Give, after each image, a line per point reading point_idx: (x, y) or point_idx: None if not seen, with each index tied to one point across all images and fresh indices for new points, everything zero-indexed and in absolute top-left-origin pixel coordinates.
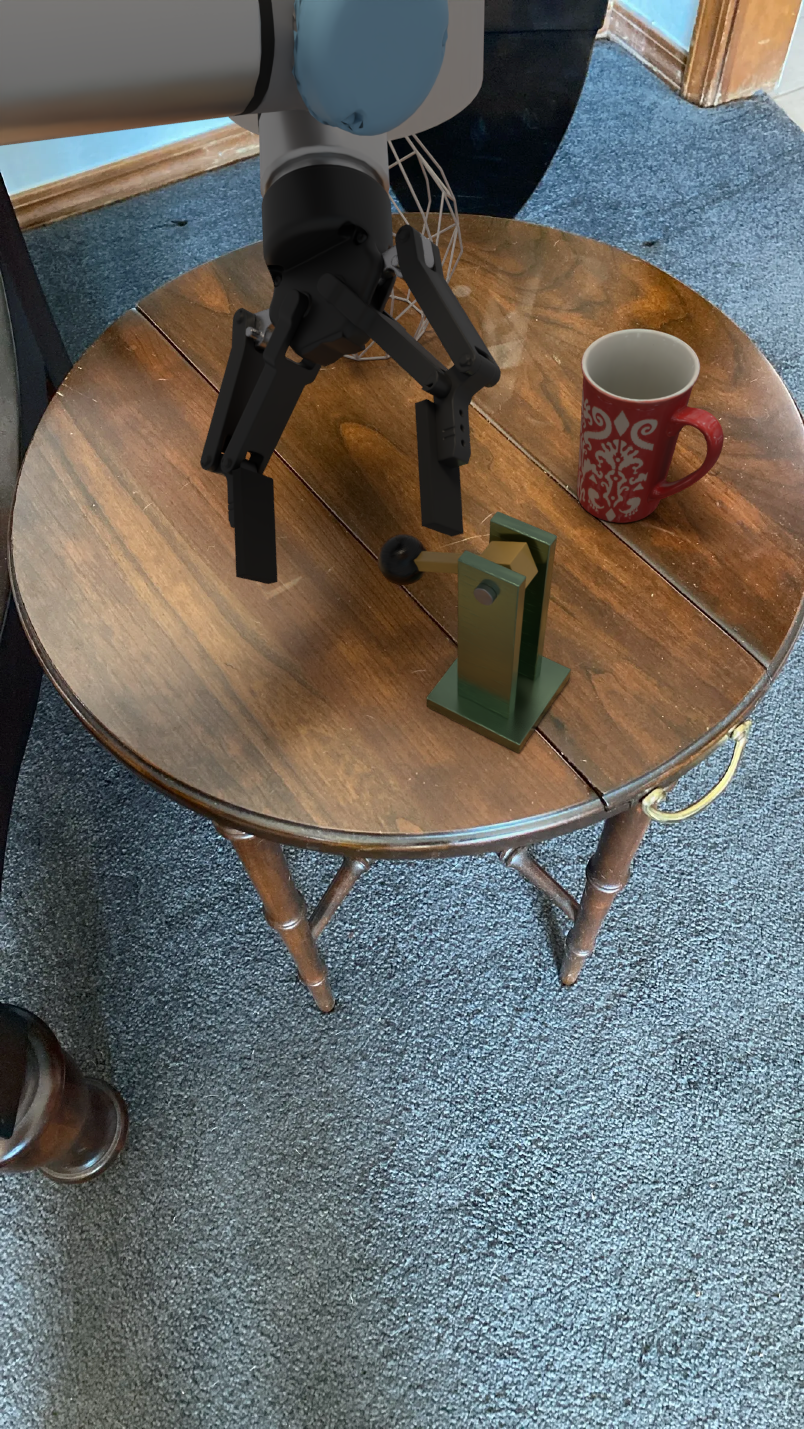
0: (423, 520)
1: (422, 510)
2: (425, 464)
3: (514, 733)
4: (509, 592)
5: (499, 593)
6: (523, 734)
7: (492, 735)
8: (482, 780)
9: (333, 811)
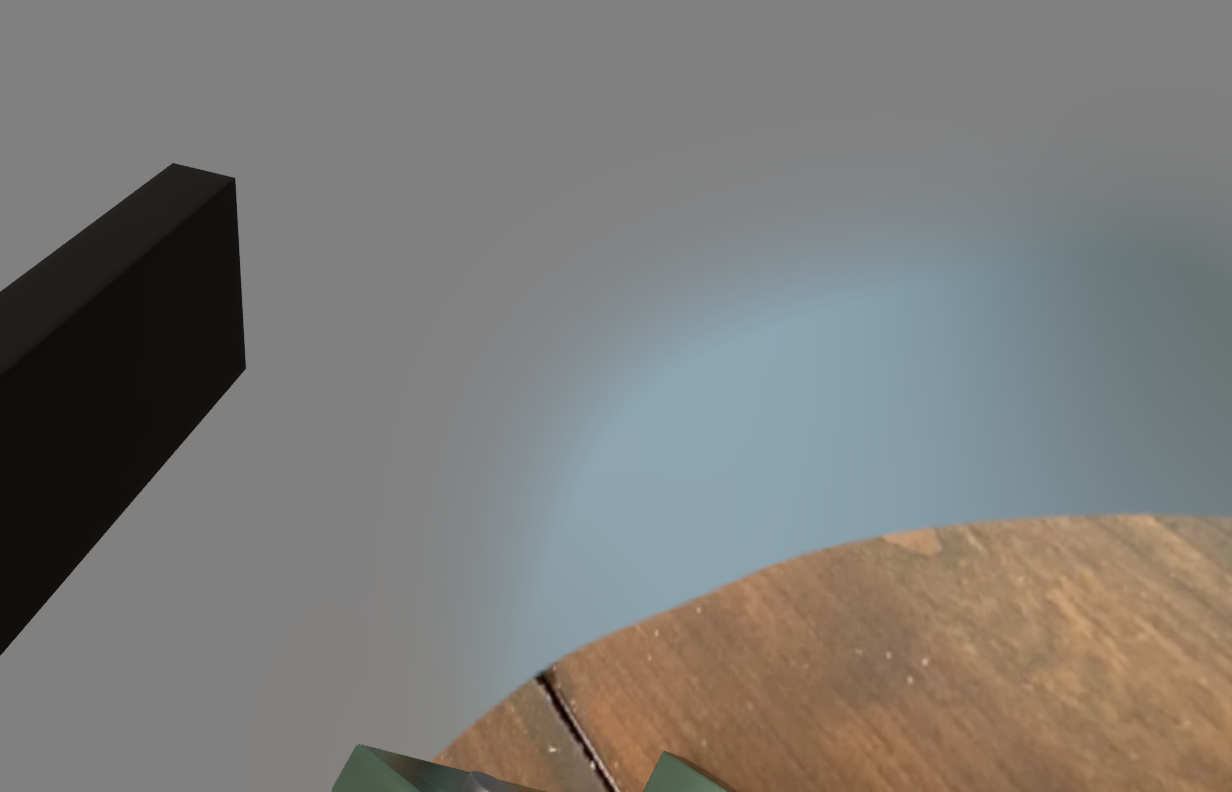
0: (214, 187)
1: (190, 201)
2: (27, 306)
3: (673, 784)
4: (407, 766)
5: (446, 786)
6: (653, 782)
7: (729, 789)
8: (756, 676)
9: (1104, 546)
